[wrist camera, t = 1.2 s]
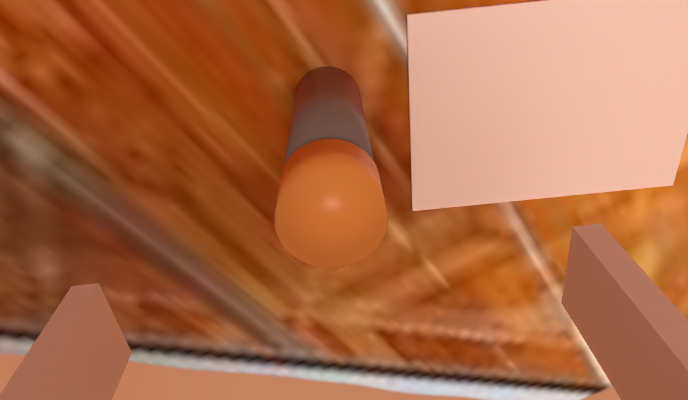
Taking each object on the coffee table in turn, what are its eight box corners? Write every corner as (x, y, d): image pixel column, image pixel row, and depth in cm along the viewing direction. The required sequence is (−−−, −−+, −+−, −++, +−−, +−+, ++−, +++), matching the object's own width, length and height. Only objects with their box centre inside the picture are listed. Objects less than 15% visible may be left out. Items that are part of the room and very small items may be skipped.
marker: (298, 134, 32) (283, 273, 19) (288, 68, 29) (265, 179, 17) (364, 127, 31) (390, 262, 19) (359, 61, 29) (385, 167, 17)
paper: (411, 208, 35) (412, 211, 34) (406, 14, 28) (407, 15, 28) (670, 183, 34) (673, 185, 34) (725, -20, 28) (729, -19, 28)
